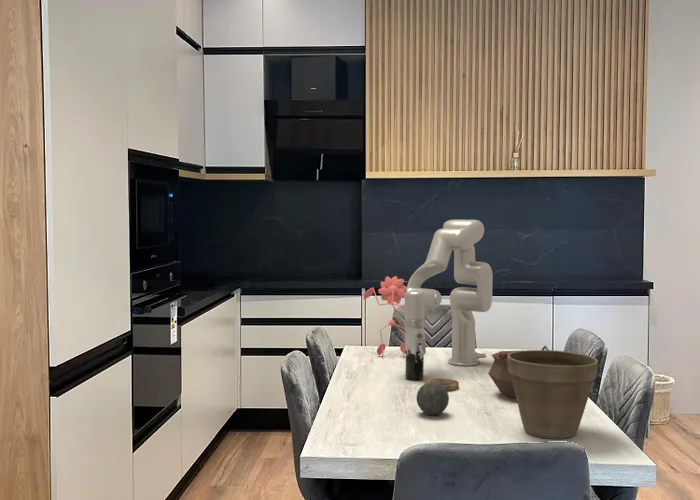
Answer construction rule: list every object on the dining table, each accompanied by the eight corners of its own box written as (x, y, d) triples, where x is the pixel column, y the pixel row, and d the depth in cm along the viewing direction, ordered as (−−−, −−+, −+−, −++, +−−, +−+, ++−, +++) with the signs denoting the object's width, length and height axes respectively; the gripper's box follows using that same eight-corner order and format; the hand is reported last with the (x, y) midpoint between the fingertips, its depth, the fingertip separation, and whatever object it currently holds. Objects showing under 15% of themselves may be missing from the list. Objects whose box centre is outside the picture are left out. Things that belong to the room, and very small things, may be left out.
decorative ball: (415, 418, 223) (415, 385, 223) (417, 409, 233) (417, 378, 233) (448, 419, 222) (448, 386, 221) (448, 410, 232) (448, 379, 231)
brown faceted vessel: (525, 408, 234) (525, 358, 233) (473, 393, 254) (473, 346, 253) (575, 398, 247) (575, 350, 246) (522, 384, 267) (522, 339, 266)
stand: (449, 382, 270) (450, 376, 269) (464, 390, 258) (464, 384, 258) (419, 385, 266) (419, 379, 266) (433, 392, 255) (433, 386, 254)
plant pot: (579, 419, 222) (580, 348, 221) (611, 444, 197) (612, 365, 196) (497, 420, 221) (498, 348, 220) (519, 446, 196) (519, 366, 195)
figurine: (423, 358, 313) (423, 277, 312) (363, 358, 314) (363, 277, 313) (421, 352, 329) (421, 275, 328) (364, 352, 330) (363, 275, 329)
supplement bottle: (424, 380, 273) (424, 348, 272) (405, 380, 273) (406, 348, 272) (422, 376, 280) (422, 345, 279) (404, 376, 280) (405, 345, 279)
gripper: (433, 326, 268) (432, 374, 269) (415, 319, 285) (415, 365, 285) (413, 327, 266) (413, 376, 267) (397, 320, 282) (397, 366, 283)
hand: (414, 370), depth 276 cm, fingers closed on supplement bottle, 6 cm apart
